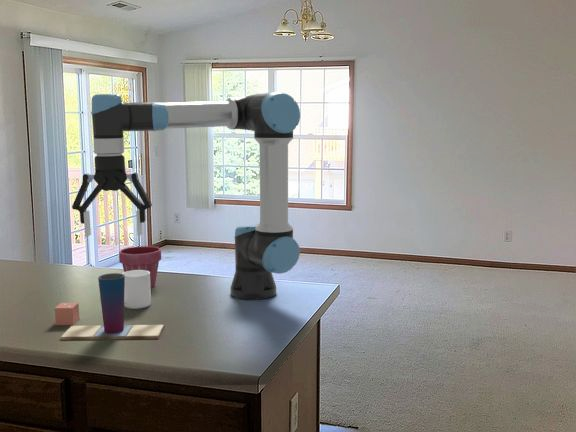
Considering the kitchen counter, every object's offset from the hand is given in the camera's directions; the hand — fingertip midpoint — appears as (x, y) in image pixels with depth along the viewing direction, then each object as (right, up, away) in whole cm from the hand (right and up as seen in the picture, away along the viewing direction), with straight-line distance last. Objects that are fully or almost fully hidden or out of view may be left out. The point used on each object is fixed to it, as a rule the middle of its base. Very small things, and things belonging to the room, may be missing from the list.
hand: (113, 235), depth 163 cm
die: (-17, -25, +12) cm, 33 cm away
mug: (-2, -23, +26) cm, 35 cm away
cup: (-1, -26, +3) cm, 26 cm away
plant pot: (-5, -19, +50) cm, 54 cm away
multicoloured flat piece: (-1, -27, +3) cm, 27 cm away
